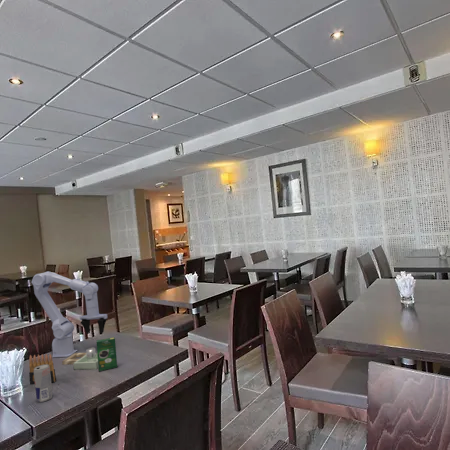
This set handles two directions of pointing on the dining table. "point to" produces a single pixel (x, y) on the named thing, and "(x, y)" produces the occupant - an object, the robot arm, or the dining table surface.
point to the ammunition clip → (39, 362)
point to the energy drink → (43, 383)
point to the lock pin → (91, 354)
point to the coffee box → (106, 354)
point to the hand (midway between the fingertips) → (95, 333)
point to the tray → (85, 364)
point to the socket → (73, 358)
